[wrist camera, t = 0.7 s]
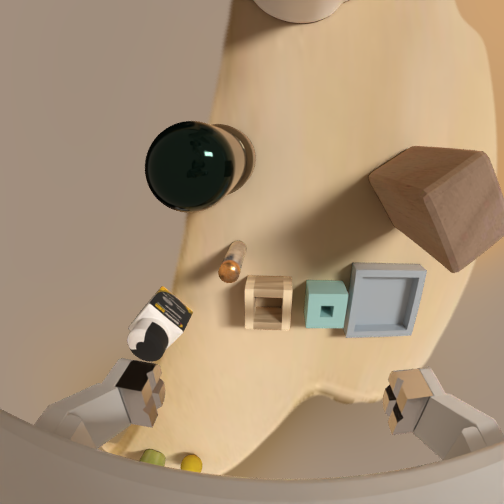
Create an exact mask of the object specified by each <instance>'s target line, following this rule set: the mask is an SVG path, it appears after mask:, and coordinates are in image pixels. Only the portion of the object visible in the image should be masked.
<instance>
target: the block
mask: <svg viewBox="0 0 504 504" xmlns="http://www.w3.org/2000/svg"><path fill="white" fill-rule="evenodd" d="M369 182H370V184H371V185H372V187H373V189H374V190H375V192H376V194H377V196H378V198H379V199H380V201H381V203H382V205H383V207H384V208H385V210H386V212H387V214H388V216H389V218H390V220H391V222H392V224H393V225H394V226H395V227H396V228H397V229H399V230H400V231H401V232H402V233H404V234H405V235H406V236H408V237H409V238H410V239H411V240H413V241H414V242H415V243H416V244H418V245H419V246H420V247H421V248H423V249H424V250H425V251H426V252H428V253H429V254H430V255H431V256H432V257H434V258H435V259H436V260H437V261H439V262H440V263H441V264H442V265H443V266H444V267H446V268H447V269H448V270H449V271H450V272H452V273H455V272H458V271H460V270H462V269H463V268H464V267H466V266H467V265H468V264H470V263H471V262H472V261H474V260H475V259H476V258H477V257H479V256H480V255H481V254H483V253H484V252H485V251H486V250H488V249H489V248H490V247H491V246H493V245H494V244H495V243H496V242H497V241H499V240H500V239H501V238H502V237H503V236H504V198H503V195H502V192H501V189H500V186H499V183H498V180H497V177H496V174H495V172H494V169H493V166H492V164H491V161H490V159H489V157H488V156H487V154H486V153H484V152H483V151H475V150H464V149H453V148H440V147H424V146H412V147H410V148H409V149H407V150H406V151H404V152H403V153H401V154H399V155H398V156H396V157H395V158H393V159H392V160H390V161H389V162H387V163H385V164H384V165H382V166H381V167H379V168H378V169H376V170H375V171H373V172H371V174H370V175H369Z"/></svg>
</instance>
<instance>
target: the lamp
mask: <svg viewBox="0 0 504 504" xmlns="http://www.w3.org/2000/svg"><path fill="white" fill-rule="evenodd" d="M255 162H256V155H255V150H254V147H253V145H252V143H251V141H250V140H249V138H248V137H247V136H246V135H245V134H244V133H242V132H241V131H239V130H237V129H235V128H233V127H230V126H227V125H222V124H213V125H210V124H206V123H203V122H197V121H186V122H180V123H177V124H174V125H172V126H170V127H168V128H166V129H165V130H164V131H163V132H161V133H160V134H159V135H158V136H157V137H156V138H155V139H154V141H153V142H152V144H151V146H150V148H149V150H148V153H147V156H146V160H145V174H146V179H147V183H148V185H149V188H150V189H151V191H152V193H153V194H154V196H155V197H156V198H157V199H158V200H159V201H160V202H161V203H163V204H164V205H166V206H167V207H169V208H171V209H174V210H176V211H180V212H189V213H190V212H199V211H203V210H206V209H208V208H210V207H212V206H214V205H215V204H217V203H218V202H219V201H221V200H222V199H223V198H224V197H225V196H226V195H228V194H231V193H233V192H235V191H236V190H238V189H239V188H241V187H242V186H243V185H244V184H245V182H246V181H247V180H248V179H249V178H250V176H251V175H252V173H253V170H254V167H255Z"/></svg>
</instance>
